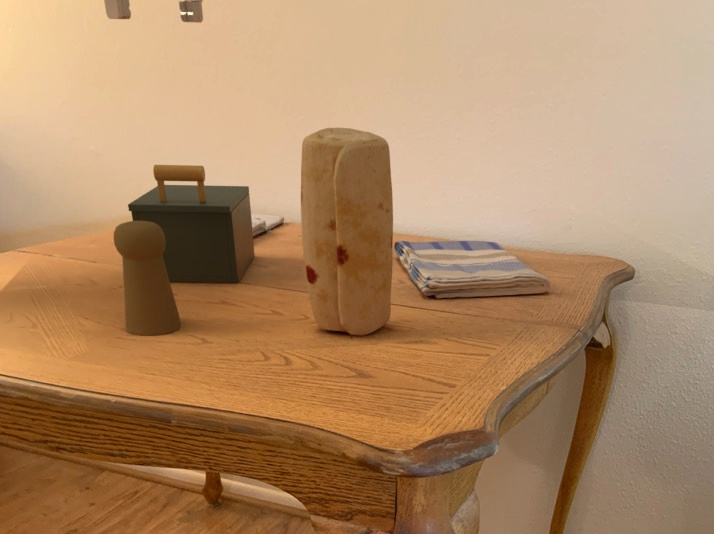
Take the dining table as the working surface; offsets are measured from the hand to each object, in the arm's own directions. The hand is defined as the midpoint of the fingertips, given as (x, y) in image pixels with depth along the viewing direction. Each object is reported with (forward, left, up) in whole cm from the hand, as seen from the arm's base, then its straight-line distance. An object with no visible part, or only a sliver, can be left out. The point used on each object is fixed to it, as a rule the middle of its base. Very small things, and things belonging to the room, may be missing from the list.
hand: (157, 21), depth 76 cm
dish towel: (+34, +18, -29) cm, 48 cm away
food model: (+19, -7, -29) cm, 35 cm away
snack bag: (-6, +45, -29) cm, 53 cm away
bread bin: (-3, +19, -29) cm, 34 cm away
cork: (-3, -7, -29) cm, 30 cm away
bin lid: (-3, +18, -20) cm, 27 cm away
